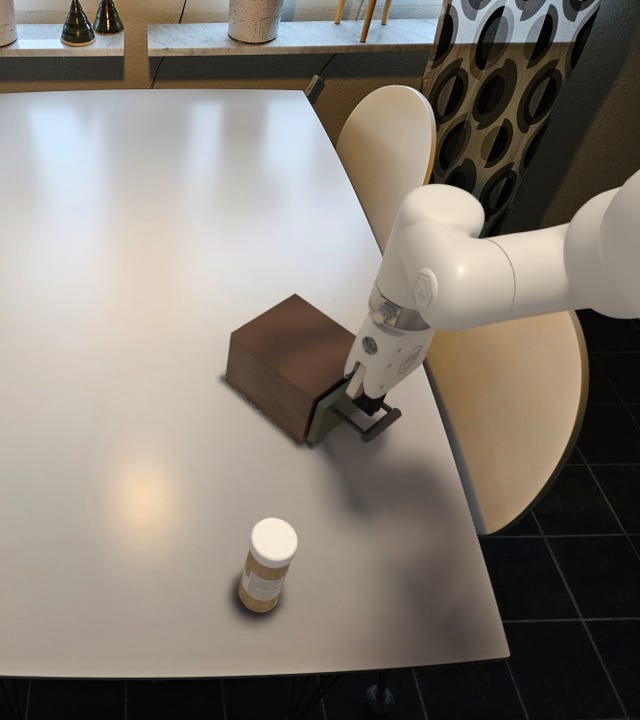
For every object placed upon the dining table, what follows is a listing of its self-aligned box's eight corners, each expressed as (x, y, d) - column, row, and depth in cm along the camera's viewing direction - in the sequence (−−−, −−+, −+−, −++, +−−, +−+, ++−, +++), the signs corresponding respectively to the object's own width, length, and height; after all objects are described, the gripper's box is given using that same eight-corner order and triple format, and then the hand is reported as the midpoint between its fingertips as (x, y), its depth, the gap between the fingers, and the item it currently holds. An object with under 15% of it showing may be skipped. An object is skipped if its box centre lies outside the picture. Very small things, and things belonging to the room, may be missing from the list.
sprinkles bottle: (246, 567, 74) (261, 508, 64) (284, 585, 73) (305, 527, 63) (231, 602, 71) (243, 547, 61) (270, 621, 70) (289, 567, 60)
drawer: (402, 428, 86) (420, 391, 81) (347, 474, 81) (362, 438, 76) (296, 347, 96) (305, 309, 90) (241, 384, 91) (246, 346, 86)
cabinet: (361, 397, 91) (378, 351, 84) (300, 444, 86) (313, 399, 78) (285, 340, 99) (295, 292, 91) (224, 379, 93) (230, 332, 86)
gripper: (392, 353, 63) (350, 457, 76) (479, 288, 69) (425, 395, 83) (333, 311, 67) (302, 418, 80) (420, 253, 73) (378, 361, 87)
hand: (365, 406), depth 81 cm, fingers closed
